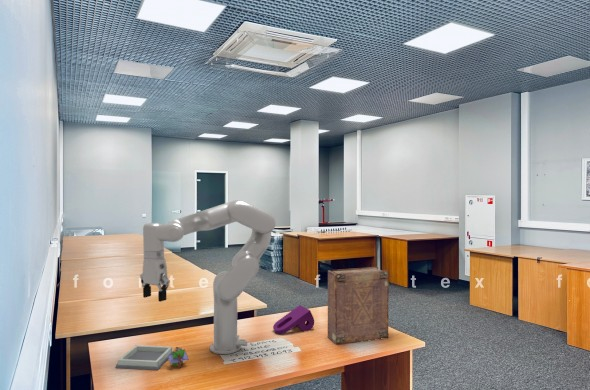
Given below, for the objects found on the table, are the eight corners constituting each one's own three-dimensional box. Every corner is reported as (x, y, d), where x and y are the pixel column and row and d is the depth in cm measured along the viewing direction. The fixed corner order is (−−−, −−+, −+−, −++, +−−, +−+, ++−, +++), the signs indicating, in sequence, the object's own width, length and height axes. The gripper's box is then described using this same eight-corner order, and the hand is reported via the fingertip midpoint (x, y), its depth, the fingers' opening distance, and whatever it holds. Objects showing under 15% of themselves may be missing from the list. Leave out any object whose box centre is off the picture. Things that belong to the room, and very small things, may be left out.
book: (377, 331, 188) (378, 266, 187) (388, 338, 179) (389, 270, 178) (327, 337, 180) (327, 270, 179) (335, 345, 171) (336, 274, 170)
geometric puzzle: (192, 363, 147) (187, 341, 151) (173, 368, 143) (169, 345, 147) (186, 369, 152) (183, 348, 156) (168, 373, 148) (165, 352, 152)
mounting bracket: (286, 348, 182) (316, 325, 190) (279, 333, 180) (310, 310, 188) (276, 341, 190) (306, 319, 198) (269, 326, 188) (299, 305, 196)
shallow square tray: (174, 353, 161) (174, 346, 161) (157, 370, 146) (157, 362, 146) (135, 351, 163) (135, 344, 163) (115, 368, 148) (115, 360, 148)
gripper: (176, 255, 155) (176, 300, 155) (148, 251, 165) (149, 293, 165) (159, 258, 149) (160, 304, 149) (132, 254, 159) (133, 297, 159)
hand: (154, 298), depth 157 cm, fingers open, 9 cm apart
